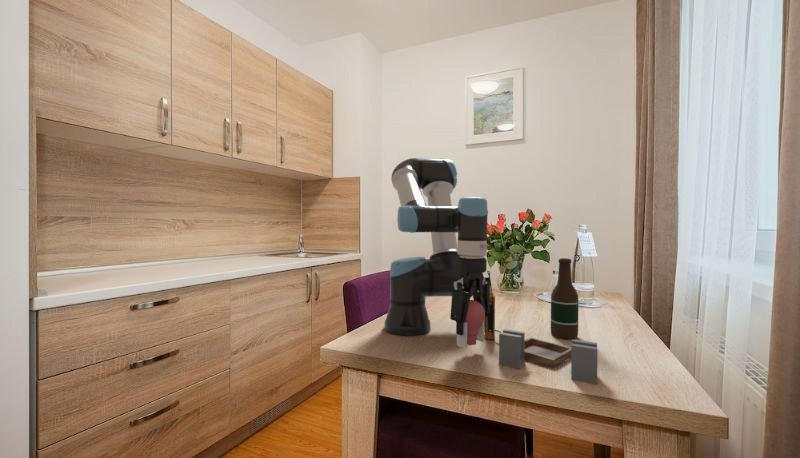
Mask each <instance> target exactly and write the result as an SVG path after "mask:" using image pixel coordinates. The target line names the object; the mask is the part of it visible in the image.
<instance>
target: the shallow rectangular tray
mask: <svg viewBox="0 0 800 458" xmlns="http://www.w3.org/2000/svg"><path fill="white" fill-rule="evenodd" d="M571 351H572V347H569V346H565V345H561V344H559V343H554V342H550V341H547V340H543V339H538V338H536V337H535V338H534V337H529V338H526V339H525V355H524V356H525V360H527V361H530V362H533V363H536V364H539V365H543V366H546V367H549V368H552V369H554V368H556V367H558V366H559V365H561V364H563V363H565V362H566V361H568V360H570V359H571Z"/></svg>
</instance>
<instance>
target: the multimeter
mask: <svg viewBox="0 0 800 458" xmlns="http://www.w3.org/2000/svg"><path fill="white" fill-rule="evenodd" d="M486 272H487V275H488V277H490V278H491V272H490V270H486ZM489 292H490V313H488V314H489V316H488V317H485V326H484V340H492V341H493V343H494V344H496V345H499V342H495V339H496V334H495V332H498V333H499V334H500V333H501V332H502V331H500V330H497V329H496V327H495V324H496V323H495V322H496V321H495V320H496V296H495V293H494V292H493V288H492V282H491V279H490V284H489ZM485 308H486V307H485Z"/></svg>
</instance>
